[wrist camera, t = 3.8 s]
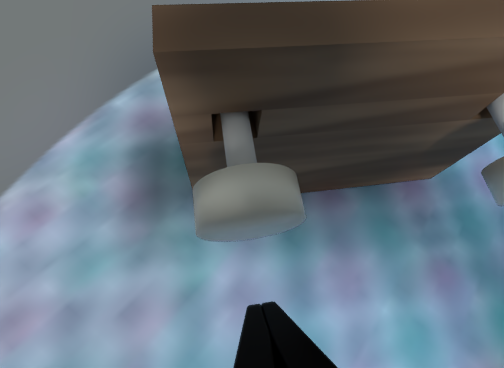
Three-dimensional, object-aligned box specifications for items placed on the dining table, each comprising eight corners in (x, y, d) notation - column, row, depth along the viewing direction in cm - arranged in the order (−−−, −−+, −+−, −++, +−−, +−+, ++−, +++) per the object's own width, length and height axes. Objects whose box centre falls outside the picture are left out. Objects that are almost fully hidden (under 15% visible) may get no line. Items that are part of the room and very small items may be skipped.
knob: (293, 234, 13) (320, 202, 9) (200, 246, 12) (189, 218, 8) (262, 82, 16) (272, 14, 12) (188, 87, 15) (175, 17, 12)
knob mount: (430, 178, 22) (659, 29, 11) (197, 204, 20) (153, 52, 8) (407, 125, 24) (579, -52, 12) (192, 143, 22) (151, -53, 10)
